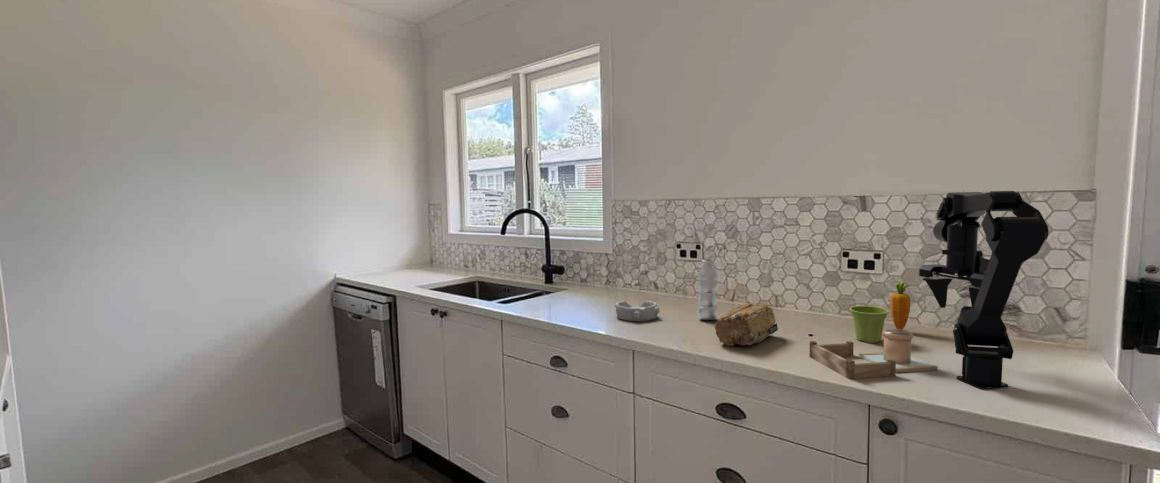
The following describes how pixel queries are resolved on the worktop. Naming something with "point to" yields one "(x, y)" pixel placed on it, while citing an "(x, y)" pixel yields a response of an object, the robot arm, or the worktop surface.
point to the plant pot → (868, 322)
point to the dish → (637, 311)
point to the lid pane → (913, 366)
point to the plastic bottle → (707, 291)
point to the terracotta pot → (897, 345)
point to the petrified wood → (746, 325)
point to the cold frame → (849, 361)
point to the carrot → (900, 306)
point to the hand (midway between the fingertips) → (959, 311)
